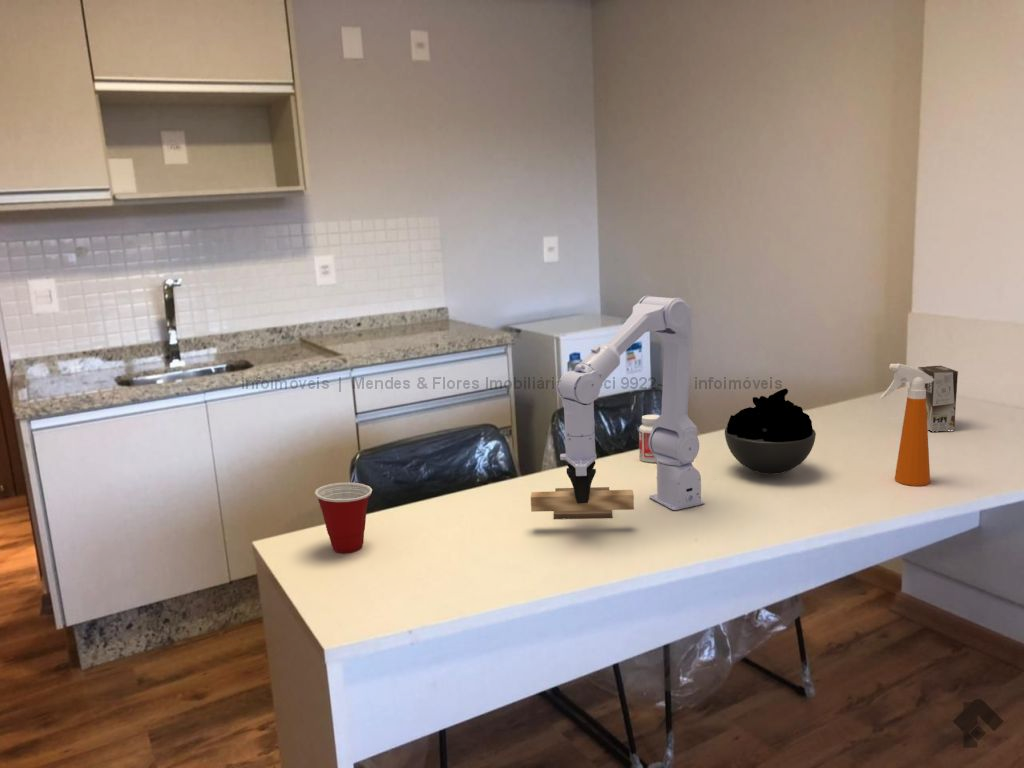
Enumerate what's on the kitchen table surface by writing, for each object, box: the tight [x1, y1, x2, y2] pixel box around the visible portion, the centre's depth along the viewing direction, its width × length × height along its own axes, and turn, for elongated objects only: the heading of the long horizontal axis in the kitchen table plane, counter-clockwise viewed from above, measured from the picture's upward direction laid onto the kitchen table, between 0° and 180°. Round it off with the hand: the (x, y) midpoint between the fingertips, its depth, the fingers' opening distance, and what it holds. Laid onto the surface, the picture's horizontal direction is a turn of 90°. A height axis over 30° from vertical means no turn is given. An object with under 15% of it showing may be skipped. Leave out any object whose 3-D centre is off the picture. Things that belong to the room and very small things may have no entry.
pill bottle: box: [638, 414, 660, 463], centre depth 204 cm, size 6×6×11 cm
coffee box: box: [917, 365, 959, 432], centre depth 218 cm, size 9×6×16 cm
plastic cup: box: [314, 482, 373, 554], centre depth 159 cm, size 11×11×12 cm
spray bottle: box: [879, 363, 934, 487], centre depth 178 cm, size 7×11×26 cm, turn 78°
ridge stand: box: [553, 486, 613, 520], centre depth 176 cm, size 16×12×5 cm
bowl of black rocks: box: [724, 388, 817, 475], centre depth 189 cm, size 20×20×19 cm
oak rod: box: [530, 489, 635, 513], centre depth 162 cm, size 20×3×3 cm, turn 86°
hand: (582, 499), depth 162 cm, fingers closed on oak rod, 3 cm apart
